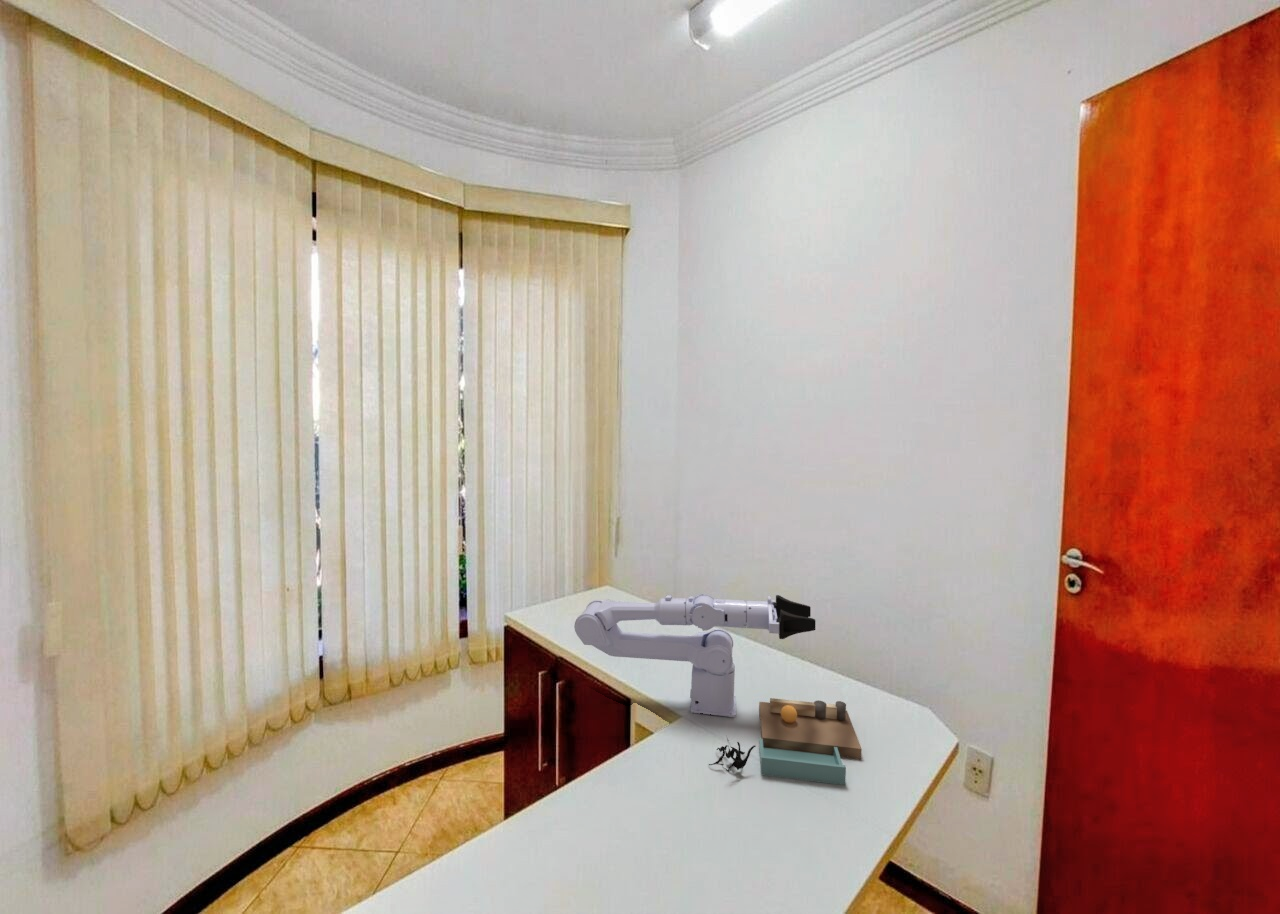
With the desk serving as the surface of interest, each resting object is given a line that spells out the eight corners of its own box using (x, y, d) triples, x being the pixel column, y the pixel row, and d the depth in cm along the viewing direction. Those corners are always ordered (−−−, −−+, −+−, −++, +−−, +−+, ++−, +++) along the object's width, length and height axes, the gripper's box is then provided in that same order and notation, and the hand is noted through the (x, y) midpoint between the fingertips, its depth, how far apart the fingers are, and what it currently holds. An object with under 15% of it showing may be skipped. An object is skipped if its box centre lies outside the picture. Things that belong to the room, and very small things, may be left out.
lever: (770, 713, 109) (770, 699, 109) (769, 707, 111) (769, 693, 111) (846, 721, 106) (847, 707, 106) (844, 715, 109) (844, 701, 108)
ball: (781, 725, 105) (781, 709, 105) (779, 716, 108) (780, 701, 108) (797, 727, 105) (798, 711, 104) (795, 717, 108) (796, 702, 108)
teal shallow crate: (761, 774, 94) (761, 757, 93) (759, 748, 101) (759, 732, 101) (845, 785, 91) (845, 767, 91) (836, 757, 99) (837, 740, 98)
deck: (762, 747, 101) (762, 737, 101) (759, 710, 114) (759, 701, 114) (861, 759, 98) (861, 748, 98) (846, 719, 111) (846, 710, 111)
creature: (701, 765, 98) (727, 782, 91) (698, 735, 98) (723, 749, 91) (735, 753, 101) (762, 768, 94) (732, 724, 102) (759, 737, 95)
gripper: (746, 607, 105) (817, 611, 103) (746, 585, 120) (808, 588, 117) (746, 641, 106) (817, 646, 103) (746, 616, 120) (808, 619, 117)
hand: (812, 617), depth 110 cm, fingers open, 7 cm apart
